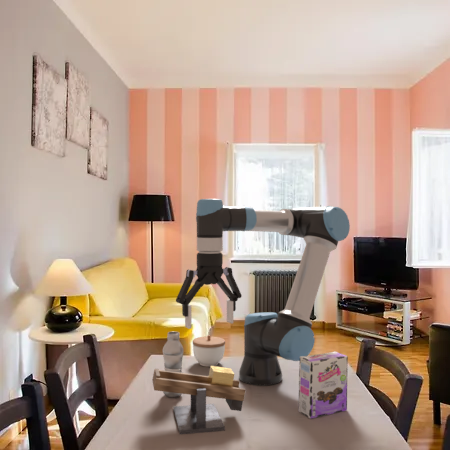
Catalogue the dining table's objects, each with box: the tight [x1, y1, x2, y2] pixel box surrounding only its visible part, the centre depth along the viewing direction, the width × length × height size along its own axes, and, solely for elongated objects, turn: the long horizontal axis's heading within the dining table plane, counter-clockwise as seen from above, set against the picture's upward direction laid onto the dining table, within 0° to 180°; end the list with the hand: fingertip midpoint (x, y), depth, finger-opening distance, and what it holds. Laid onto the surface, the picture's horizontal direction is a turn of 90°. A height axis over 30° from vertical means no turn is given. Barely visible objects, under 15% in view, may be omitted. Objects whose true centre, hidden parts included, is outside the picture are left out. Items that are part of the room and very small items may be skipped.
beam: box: [151, 368, 247, 412], centre depth 133 cm, size 25×9×7 cm, turn 102°
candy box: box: [298, 351, 349, 420], centre depth 140 cm, size 14×6×16 cm, turn 117°
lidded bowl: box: [192, 334, 226, 367], centre depth 184 cm, size 13×13×11 cm
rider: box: [207, 365, 235, 387], centre depth 134 cm, size 6×5×5 cm
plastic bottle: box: [162, 331, 184, 398], centre depth 150 cm, size 6×7×20 cm
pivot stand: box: [172, 388, 226, 435], centre depth 133 cm, size 12×16×10 cm
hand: (209, 325), depth 139 cm, fingers open, 13 cm apart
